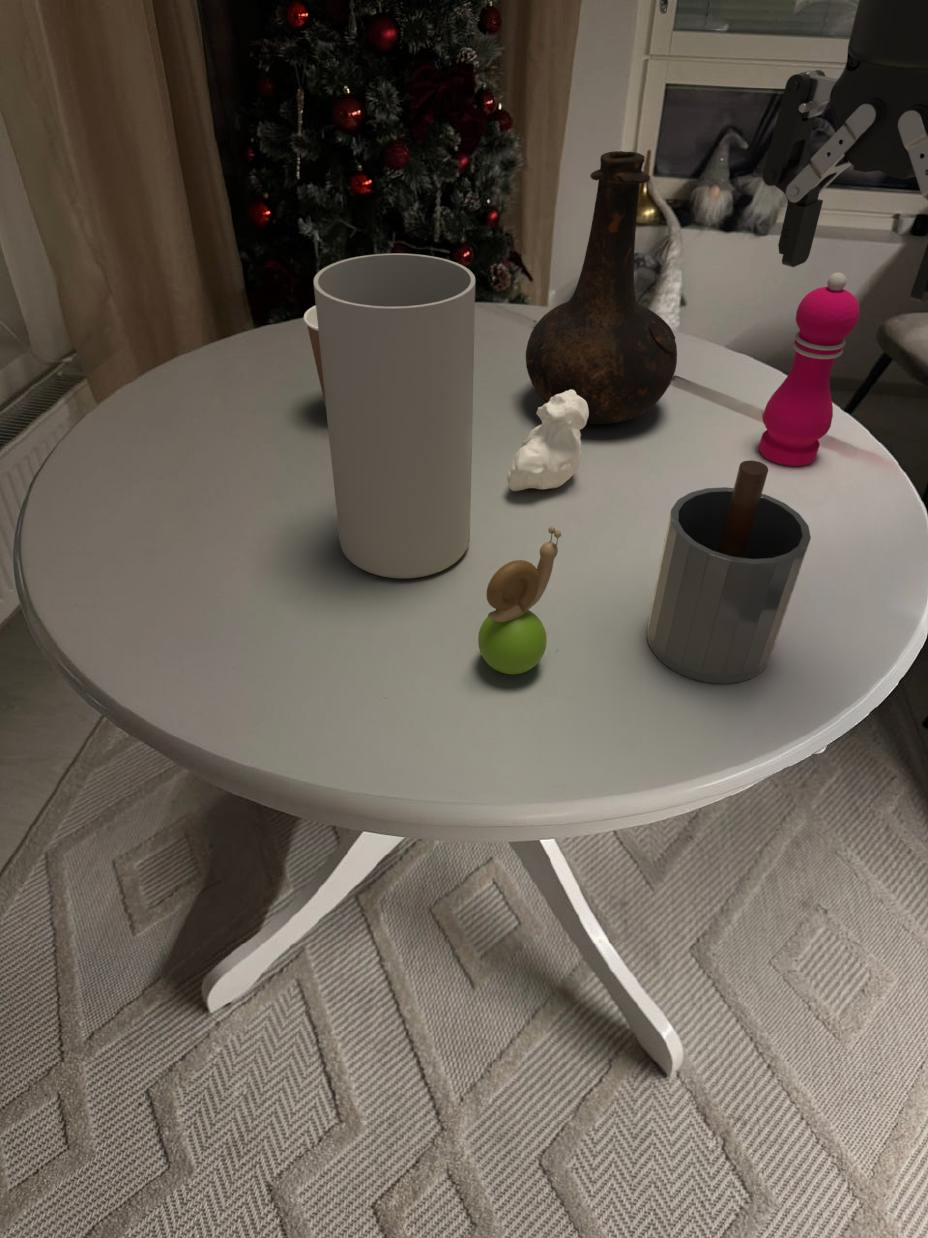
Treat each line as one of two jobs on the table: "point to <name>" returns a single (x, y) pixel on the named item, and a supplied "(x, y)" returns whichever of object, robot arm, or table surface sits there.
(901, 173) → the robot arm
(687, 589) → the grey pencil holder
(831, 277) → the pepper mill
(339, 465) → the cylinder vase
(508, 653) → the snail figurine
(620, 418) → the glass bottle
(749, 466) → the brush
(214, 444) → the table surface
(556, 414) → the bust
